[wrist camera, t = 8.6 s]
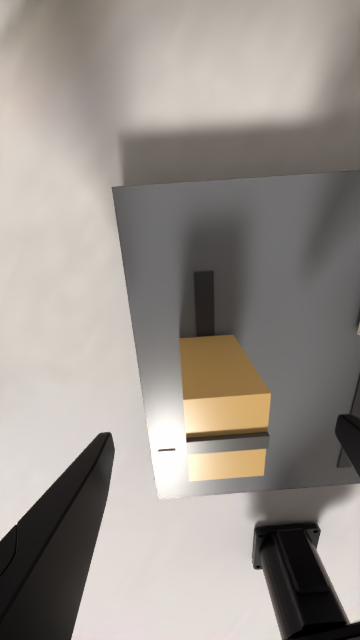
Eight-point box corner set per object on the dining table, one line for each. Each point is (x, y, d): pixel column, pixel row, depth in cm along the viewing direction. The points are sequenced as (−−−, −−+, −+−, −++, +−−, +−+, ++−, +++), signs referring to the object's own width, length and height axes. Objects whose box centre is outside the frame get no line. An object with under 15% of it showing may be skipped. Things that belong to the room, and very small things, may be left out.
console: (363, 451, 20) (391, 482, 17) (159, 468, 20) (157, 500, 17) (444, 175, 13) (511, 159, 10) (123, 196, 12) (111, 186, 10)
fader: (232, 394, 14) (265, 480, 9) (183, 398, 14) (189, 486, 9) (233, 334, 12) (273, 397, 7) (179, 338, 12) (183, 404, 7)
